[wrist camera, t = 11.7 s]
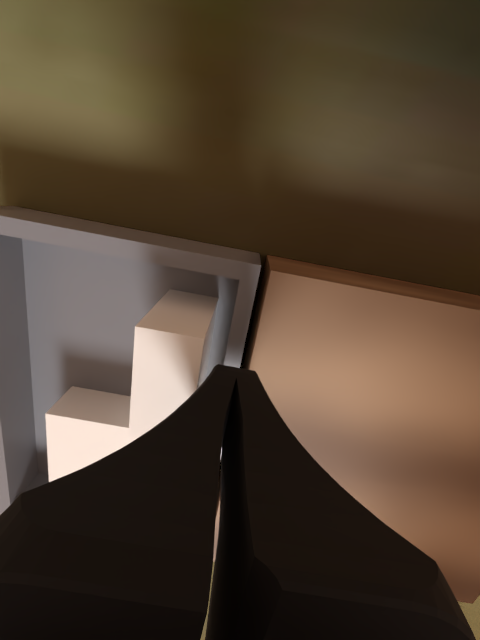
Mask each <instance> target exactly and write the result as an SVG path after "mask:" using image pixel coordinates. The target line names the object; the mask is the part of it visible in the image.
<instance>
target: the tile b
mask: <svg viewBox="0 0 480 640" xmlns="http://www.w3.org/2000/svg"><path fill="white" fill-rule="evenodd" d="M218 299H219V298H216V297H210V296H205V295H199V294H194V293H188V292H183V291H177V290H172V289H170V290H169V291H168V292H167V293H166V294H165V295H164V296H163V297H162V298H161V299H160V300H159V301H158V302H157V303H156V305H155V306H154V307H153V308H152V309H151V310H150V311H149V312H148V313H147V314H146V315H145V316H144V317H143V318H142V319H141V320H140V322H139V323H138V324H137V325H136V326H135V335H134V351H133V368H132V385H131V402H130V419H129V435H128V436H129V437H135V438H139V437H140V436H142V435H143V434H145V433H146V432H148V431H149V430H151V429H152V428H153V427H155V426H156V425H157V424H159V423H160V422H161V421H163V420H164V419H165V418H167V417H168V416H169V415H170V414H171V413H173V412H174V411H175V410H176V409H177V408H178V407H179V406H180V405H182V404H183V403H184V402H185V401H186V400H187V399H188V398H189V397H190V396H191V395H192V394H193V393H194V392H195V391H196V390H197V389H198V387H199V386H200V385H201V384H202V383H203V382H204V381H205V379H206V375H207V368H208V362H209V356H210V349H211V343H212V337H213V331H214V324H215V318H216V312H217V306H218Z"/></svg>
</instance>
